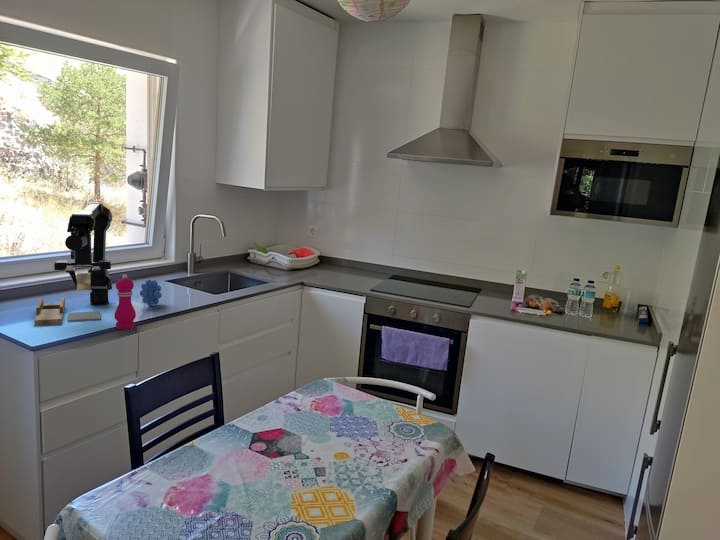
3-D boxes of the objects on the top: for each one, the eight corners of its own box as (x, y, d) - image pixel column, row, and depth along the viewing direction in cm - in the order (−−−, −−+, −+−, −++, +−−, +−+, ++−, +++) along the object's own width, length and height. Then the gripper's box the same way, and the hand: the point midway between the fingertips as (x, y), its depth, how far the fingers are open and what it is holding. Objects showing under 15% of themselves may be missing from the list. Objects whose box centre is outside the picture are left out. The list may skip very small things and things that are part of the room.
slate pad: (100, 312, 206) (100, 311, 206) (100, 319, 196) (100, 318, 196) (68, 314, 201) (68, 312, 201) (67, 321, 191) (67, 320, 191)
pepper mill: (118, 323, 193) (118, 271, 190) (138, 324, 194) (138, 272, 190) (111, 329, 186) (110, 275, 183) (132, 330, 187) (131, 276, 183)
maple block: (90, 287, 201) (90, 272, 200) (90, 290, 197) (90, 274, 196) (77, 288, 199) (77, 272, 198) (77, 290, 195) (76, 275, 194)
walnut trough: (65, 307, 209) (64, 296, 209) (61, 324, 188) (61, 312, 188) (40, 308, 205) (40, 297, 205) (34, 325, 185) (34, 313, 184)
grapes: (148, 310, 213) (148, 282, 211) (136, 308, 216) (135, 280, 214) (168, 305, 224) (168, 278, 222) (156, 302, 226) (156, 275, 224)
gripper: (109, 243, 205) (110, 281, 208) (55, 243, 197) (57, 283, 199) (110, 248, 195) (111, 288, 198) (53, 248, 187) (55, 289, 190)
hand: (83, 287), depth 197 cm, fingers closed on maple block, 4 cm apart
